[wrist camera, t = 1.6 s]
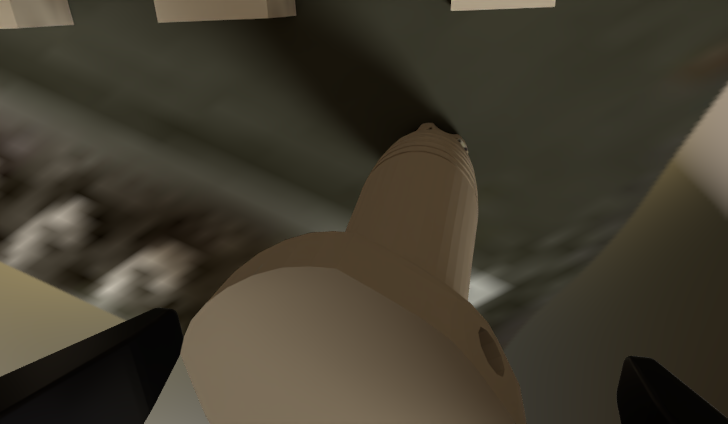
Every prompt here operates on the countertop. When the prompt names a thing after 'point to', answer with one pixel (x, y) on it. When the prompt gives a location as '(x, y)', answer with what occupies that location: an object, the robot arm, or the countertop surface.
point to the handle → (362, 312)
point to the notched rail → (203, 10)
